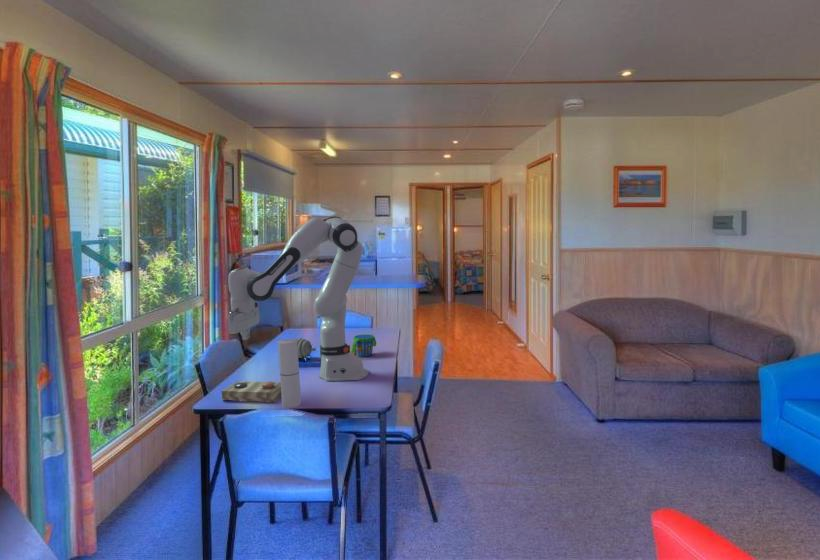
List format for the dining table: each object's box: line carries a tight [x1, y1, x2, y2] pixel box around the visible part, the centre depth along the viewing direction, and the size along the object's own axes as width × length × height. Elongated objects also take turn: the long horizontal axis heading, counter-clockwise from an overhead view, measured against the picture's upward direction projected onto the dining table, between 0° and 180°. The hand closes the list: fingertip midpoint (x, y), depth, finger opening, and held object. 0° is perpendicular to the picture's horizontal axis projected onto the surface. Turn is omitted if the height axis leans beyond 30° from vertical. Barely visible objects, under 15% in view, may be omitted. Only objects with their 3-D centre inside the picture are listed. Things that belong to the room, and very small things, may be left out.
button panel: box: [221, 380, 282, 403], centre depth 207 cm, size 22×12×4 cm, turn 79°
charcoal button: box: [234, 383, 247, 388], centre depth 208 cm, size 5×5×4 cm
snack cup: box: [351, 333, 377, 358], centre depth 263 cm, size 16×10×10 cm
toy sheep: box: [295, 338, 317, 359], centre depth 259 cm, size 11×17×11 cm, turn 76°
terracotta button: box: [262, 381, 275, 389], centre depth 206 cm, size 5×5×4 cm
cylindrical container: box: [277, 338, 302, 408], centre depth 196 cm, size 7×7×25 cm
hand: (246, 339), depth 212 cm, fingers closed
